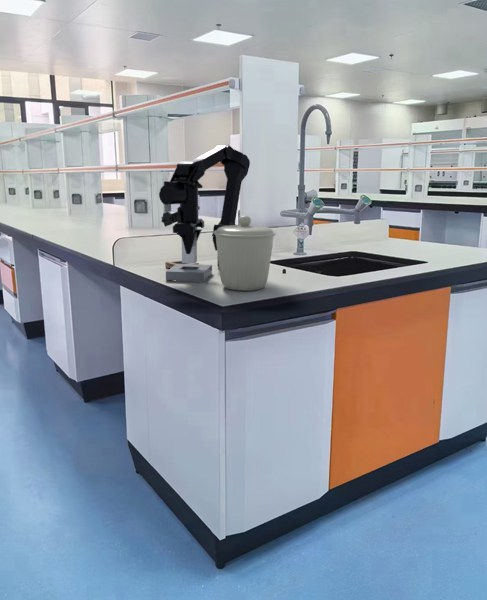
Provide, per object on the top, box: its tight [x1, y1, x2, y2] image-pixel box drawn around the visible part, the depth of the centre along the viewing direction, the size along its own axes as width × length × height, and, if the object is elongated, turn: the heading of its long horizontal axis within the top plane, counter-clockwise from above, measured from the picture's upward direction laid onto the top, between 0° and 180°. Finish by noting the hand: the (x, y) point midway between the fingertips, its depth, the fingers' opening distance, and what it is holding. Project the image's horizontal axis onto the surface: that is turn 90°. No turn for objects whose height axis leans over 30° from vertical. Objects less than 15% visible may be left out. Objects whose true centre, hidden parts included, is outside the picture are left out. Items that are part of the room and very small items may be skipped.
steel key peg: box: [181, 234, 198, 263], centre depth 167 cm, size 4×4×9 cm
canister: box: [212, 215, 277, 292], centre depth 153 cm, size 18×18×21 cm
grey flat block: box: [165, 264, 213, 283], centre depth 169 cm, size 12×14×3 cm
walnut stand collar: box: [164, 259, 200, 269], centre depth 184 cm, size 8×8×2 cm
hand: (189, 252), depth 167 cm, fingers closed on steel key peg, 4 cm apart
